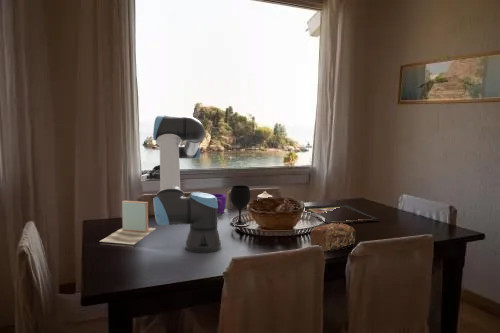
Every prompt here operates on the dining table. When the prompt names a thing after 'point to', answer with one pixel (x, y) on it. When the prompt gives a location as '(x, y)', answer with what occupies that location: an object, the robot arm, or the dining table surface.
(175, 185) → the robot arm
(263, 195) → the teacup with lid
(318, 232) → the bread
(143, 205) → the tile
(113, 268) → the dining table surface
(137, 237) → the board
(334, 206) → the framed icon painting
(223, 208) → the mug
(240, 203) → the wine glass
